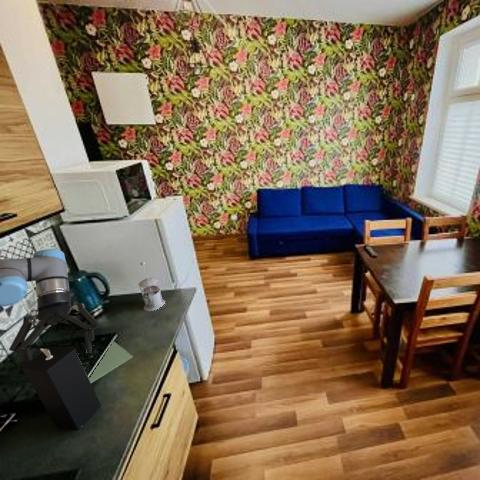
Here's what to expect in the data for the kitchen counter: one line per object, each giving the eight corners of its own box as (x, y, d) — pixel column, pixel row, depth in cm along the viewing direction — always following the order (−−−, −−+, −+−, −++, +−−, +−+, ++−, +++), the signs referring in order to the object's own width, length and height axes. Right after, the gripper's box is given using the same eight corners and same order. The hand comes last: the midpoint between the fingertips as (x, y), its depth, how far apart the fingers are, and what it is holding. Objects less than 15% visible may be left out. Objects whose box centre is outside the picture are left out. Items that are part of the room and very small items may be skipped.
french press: (151, 313, 130) (138, 268, 120) (137, 307, 135) (122, 263, 125) (169, 302, 138) (158, 259, 129) (155, 296, 143) (143, 255, 133)
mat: (54, 367, 101) (54, 366, 101) (109, 337, 115) (108, 337, 115) (77, 392, 91) (76, 391, 91) (133, 356, 106) (132, 356, 105)
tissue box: (80, 402, 88) (47, 336, 77) (102, 406, 87) (71, 339, 76) (56, 427, 81) (15, 358, 70) (78, 431, 80) (41, 361, 69)
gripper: (105, 287, 95) (114, 346, 89) (5, 310, 82) (9, 381, 77) (98, 281, 89) (108, 344, 83) (-11, 305, 76) (-8, 381, 70)
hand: (60, 362), depth 80 cm, fingers open, 13 cm apart
